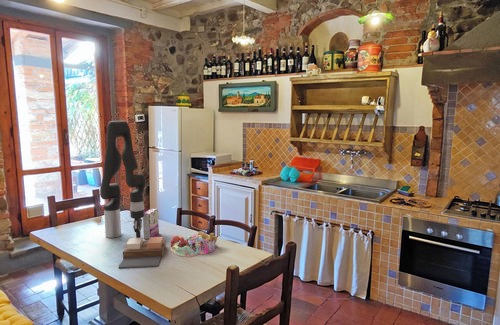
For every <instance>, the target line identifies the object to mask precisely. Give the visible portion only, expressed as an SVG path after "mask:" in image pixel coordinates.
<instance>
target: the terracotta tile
mask: <svg viewBox="0 0 500 325" xmlns="http://www.w3.org/2000/svg"><path fill="white" fill-rule="evenodd" d="M163 240H164V237H163V236H155V237H150V238H149V239H147V241H148V243H147V249H148V248H161V246H162V243H163Z"/></svg>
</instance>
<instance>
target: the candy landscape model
mask: <svg viewBox="0 0 500 325" xmlns="http://www.w3.org/2000/svg"><path fill="white" fill-rule="evenodd" d="M217 241H218V236H215V233H214V232H210V233H209V234H207V233H206V232H204V231H203V230H200V231H198V232H197V234H196V233H194V234H192V235H188V236H187V237H186V239H185V238H184V237H183V236H181V237H180V236H179V235H173V236H172V240H171V241H170V251H171V253H173V254H175V255H176V256H179V257H187V258H190V257H195V256H197V255H208V254H209V253H213V252H214V251H216V248H218V244H216V243H217Z"/></svg>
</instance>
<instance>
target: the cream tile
mask: <svg viewBox="0 0 500 325" xmlns="http://www.w3.org/2000/svg"><path fill="white" fill-rule="evenodd" d="M143 241H144V237H140V238H136V237H130V238H128V240H127V241H126V243H125V248H126V249H140V247H141V245H142V244H143Z"/></svg>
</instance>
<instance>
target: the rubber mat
mask: <svg viewBox="0 0 500 325" xmlns="http://www.w3.org/2000/svg"><path fill="white" fill-rule="evenodd" d="M161 259H162V258H161V256H153V257H132V258H124V259H123V258H122V261H121V262H120V264H119V266H118V269H120V270H121V269H134V268H135V269H136V268H138V269H139V268H154V267H157V268H158V267H159V265H160V262H161Z"/></svg>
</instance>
